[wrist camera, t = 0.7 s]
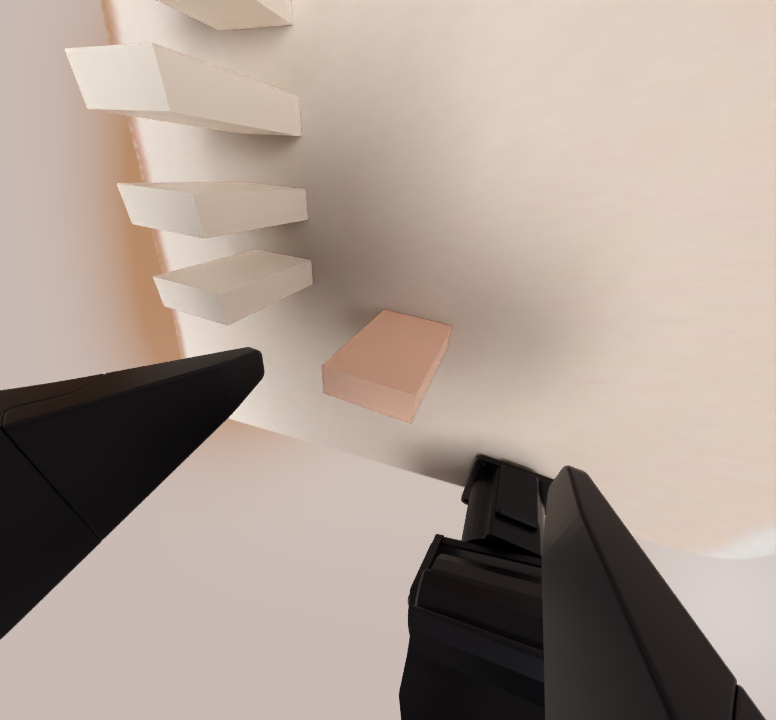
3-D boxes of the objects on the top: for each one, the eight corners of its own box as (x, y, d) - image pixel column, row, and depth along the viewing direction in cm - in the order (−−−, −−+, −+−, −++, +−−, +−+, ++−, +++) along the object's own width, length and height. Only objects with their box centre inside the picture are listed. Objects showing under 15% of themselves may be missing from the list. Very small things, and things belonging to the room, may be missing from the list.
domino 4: (301, 136, 17) (170, 111, 11) (236, 132, 19) (87, 108, 12) (298, 96, 16) (152, 42, 10) (230, 95, 18) (64, 48, 11)
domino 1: (447, 348, 20) (411, 423, 14) (382, 331, 22) (323, 393, 16) (452, 325, 19) (415, 395, 13) (384, 309, 21) (321, 365, 15)
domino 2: (313, 284, 22) (227, 325, 16) (261, 272, 24) (164, 305, 17) (311, 260, 21) (219, 294, 15) (257, 249, 23) (152, 276, 16)
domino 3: (308, 219, 20) (204, 238, 13) (250, 211, 21) (132, 224, 15) (305, 189, 19) (192, 193, 12) (245, 182, 20) (116, 182, 14)
